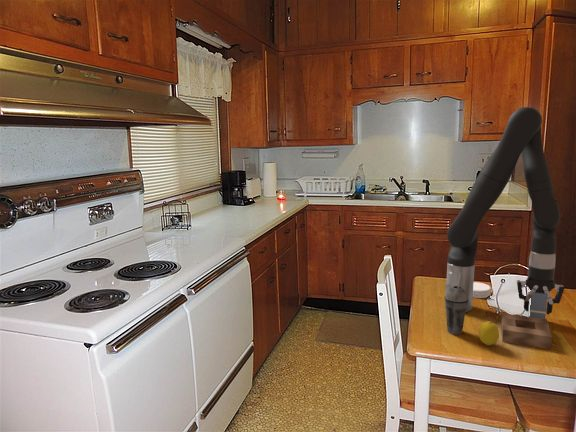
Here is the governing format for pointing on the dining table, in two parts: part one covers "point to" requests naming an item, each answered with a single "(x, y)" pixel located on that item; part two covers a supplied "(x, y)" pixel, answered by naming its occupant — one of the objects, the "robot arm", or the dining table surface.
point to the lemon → (489, 333)
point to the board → (526, 331)
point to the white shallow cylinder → (481, 290)
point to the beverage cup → (455, 308)
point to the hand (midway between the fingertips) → (537, 311)
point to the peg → (538, 305)
